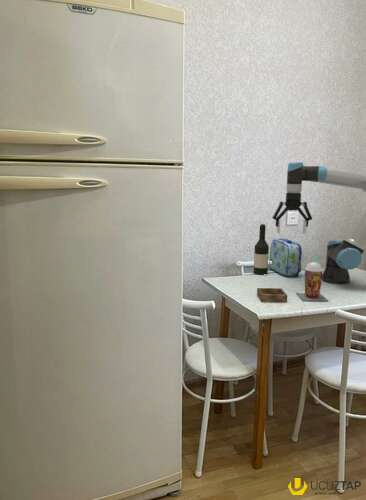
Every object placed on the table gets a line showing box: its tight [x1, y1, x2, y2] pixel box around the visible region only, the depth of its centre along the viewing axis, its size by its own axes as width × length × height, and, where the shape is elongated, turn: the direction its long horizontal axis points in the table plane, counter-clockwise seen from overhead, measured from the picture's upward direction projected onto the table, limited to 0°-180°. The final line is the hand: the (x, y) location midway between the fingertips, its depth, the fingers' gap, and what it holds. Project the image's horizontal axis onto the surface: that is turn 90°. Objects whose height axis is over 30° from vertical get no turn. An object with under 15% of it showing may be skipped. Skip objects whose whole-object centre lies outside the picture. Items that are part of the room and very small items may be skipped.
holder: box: [256, 287, 288, 303], centre depth 194 cm, size 12×12×4 cm
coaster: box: [295, 292, 329, 303], centre depth 196 cm, size 12×12×1 cm
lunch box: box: [269, 238, 303, 277], centre depth 244 cm, size 26×11×21 cm, turn 12°
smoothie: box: [304, 256, 324, 298], centre depth 194 cm, size 8×8×20 cm
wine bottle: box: [253, 223, 270, 276], centre depth 242 cm, size 8×8×30 cm
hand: (291, 233), depth 213 cm, fingers open, 13 cm apart
